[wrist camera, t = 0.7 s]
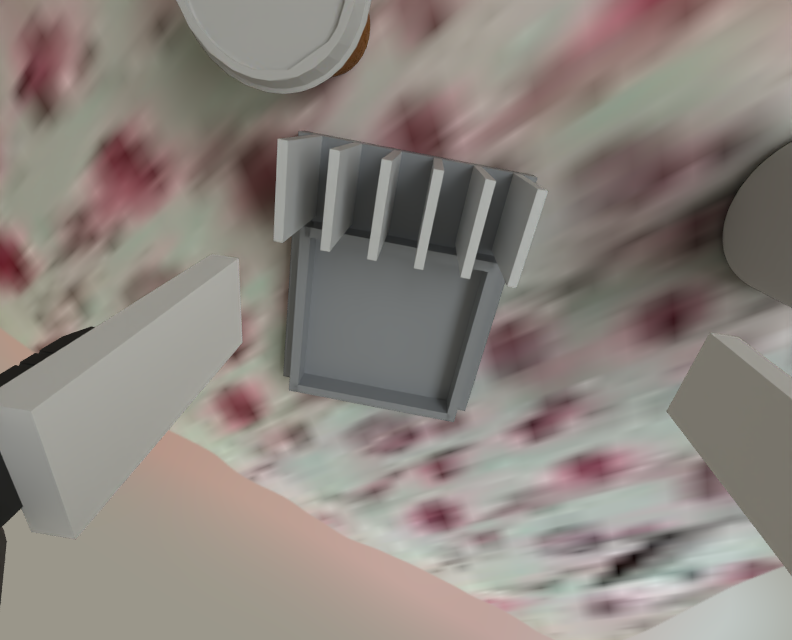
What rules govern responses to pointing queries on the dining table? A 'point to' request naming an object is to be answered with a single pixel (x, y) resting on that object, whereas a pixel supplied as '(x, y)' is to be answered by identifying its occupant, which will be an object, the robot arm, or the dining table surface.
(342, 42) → the disposable coffee cup
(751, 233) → the cylinder vase
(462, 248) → the dish rack
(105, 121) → the dining table surface
